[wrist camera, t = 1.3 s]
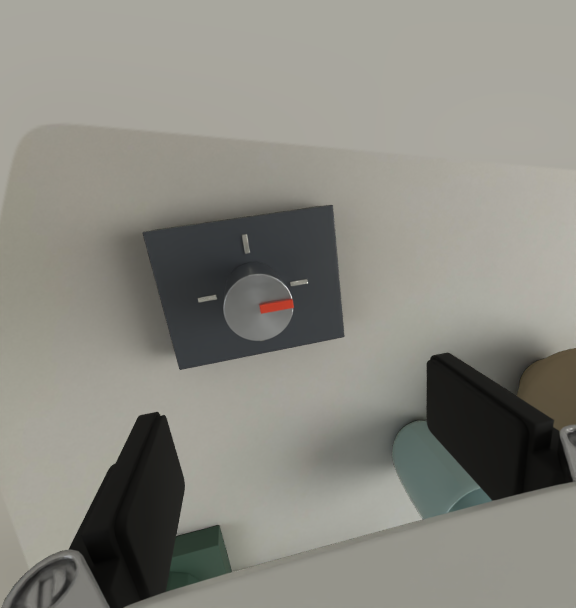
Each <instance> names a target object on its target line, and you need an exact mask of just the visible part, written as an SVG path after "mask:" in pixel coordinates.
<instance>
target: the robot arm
mask: <svg viewBox="0 0 576 608" xmlns="http://www.w3.org/2000/svg"><path fill="white" fill-rule="evenodd" d="M553 425H554V420H553V419H552V418H550V417H549V416H547V415H546V414H544V413H542V412H541V411H539V410H538V409H536V408H535V407H533V406H532V405H530V404H528V403H527V402H525V401H524V400H522V399H521V398H519V397H517V396H516V395H514V394H513V393H511V392H510V391H508V390H507V389H505V388H503V387H502V386H500V385H499V384H497V383H496V382H494V381H492V380H491V379H489V378H488V377H486V376H485V375H483V374H482V373H480V372H478V371H477V370H475V369H474V368H472V367H471V366H469V365H467V364H466V363H464V362H463V361H461V360H460V359H458V358H457V357H455V356H453V355H452V354H450V353H443V354H438V355H433V356H432V357H431V358H430V360H429V361H428V362H427V426H428V429H429V430H430V432H431V433H432V434H433V435H434V437H435V438H436V439H437V440H438V441H439V442H440V443H441V444H442V445H443V447H444V448H445V449H446V450H447V451H448V452H449V453H450V454H451V455H452V457H453V458H454V459H455V460H456V461H457V462H458V463H459V464H460V465H461V467H462V468H463V469H464V470H465V471H466V472H467V473H468V474H469V475H470V476H471V478H472V479H473V480H474V481H475V482H476V483H477V484H478V485H479V486H480V488H481V489H482V490H483V491H484V492H485V493H486V494H487V495H488V496H489V498H490V499H491V500H492V501H491V502H487V503H483V504H480V505H476V506H472V507H468V508H464V509H461V510H457V511H453V512H449V513H446V514H442V515H438V516H434V517H430V518H427V519H423V520H419V521H416V522H412V523H408V524H405V525H401V526H397V527H394V528H390V529H386V530H382V531H379V532H375V533H371V534H368V535H364V536H360V537H357V538H353V539H349V540H346V541H342V542H338V543H335V544H331V545H327V546H324V547H320V548H317V549H313V550H309V551H306V552H302V553H299V554H295V555H292V556H288V557H284V558H281V559H277V560H274V561H270V562H266V563H263V564H259V565H256V566H252V567H249V568H245V569H241V570H238V571H234V572H231V573H227V574H224V575H221V576H217V577H214V578H211V579H207V580H204V581H201V582H197V583H194V584H190V585H187V586H184V587H180V588H177V589H174V590H170V591H167V592H166V588H167V582H168V577H169V571H170V566H171V561H172V555H173V550H174V544H175V539H176V534H177V528H178V523H179V517H180V512H181V507H182V501H183V496H184V490H185V482H184V477H183V473H182V470H181V466H180V463H179V459H178V456H177V453H176V449H175V446H174V442H173V439H172V435H171V432H170V428H169V425H168V422H167V418H166V416H165V415H162V416H160V414H159V413H158V412H154V413H149V414H144V415H140V416H139V417H138V418H137V420H136V422H135V424H134V426H133V429H132V431H131V433H130V435H129V437H128V439H127V441H126V443H125V445H124V447H123V449H122V451H121V453H120V455H119V457H118V460H117V462H116V464H113V465H112V466H111V467H110V468H109V470H108V472H107V474H106V476H105V478H104V480H103V482H102V484H101V486H100V488H99V490H98V492H97V494H96V496H95V498H94V500H93V502H92V504H91V506H90V508H89V510H88V512H87V514H86V516H85V518H84V520H83V522H82V524H81V526H80V528H79V530H78V532H77V534H76V536H75V538H74V540H73V542H72V544H71V546H70V548H69V550H64V551H60V552H57V553H55V554H52V555H50V556H48V557H47V558H45V559H43V560H42V561H40V562H39V563H37V564H36V565H35V566H33V567H32V568H31V569H30V570H29V571H27V572H26V573H25V574H24V575H23V576H22V577H21V578H20V580H19V581H18V582H17V583H16V584H15V585H14V586H13V588H12V589H11V591H10V592H9V594H8V595H7V597H6V598H5V600H4V603H3V605H2V607H1V608H576V425H568V426H565V427H563V428H562V429H561V430H560V431H559V430H557V429H556V428H554V427H553Z"/></svg>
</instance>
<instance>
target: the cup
mask: <svg viewBox="0 0 576 608" xmlns="http://www.w3.org/2000/svg"><path fill="white" fill-rule="evenodd" d="M392 459H393V464H394V467H395V470H396V472H397V475H398V477H399V479H400V481H401V483H402V485H403V487H404V489H405V491H406V493H407V495H408V496H409V498H410V500H411V501H412V503H413V505H414V506H415V508H416V510H417V511H418V513H419V515H420V516H421V518H422V519H427V518H430V517H434V516H438V515H442V514H446V513H449V512H453V511H457V510H461V509H464V508H468V507H472V506H476V505H480V504H483V503H487V502H491V501H492V500H491V499H490V498H489V496H488V495H487V494H486V493H485V492H484V491H483V490H482V489H481V488H480V486H479V485H478V484H477V483H476V482H475V481H474V480H473V479H472V478H471V476H470V475H469V474H468V473H467V472H466V471H465V470H464V469H463V468H462V467H461V465H460V464H459V463H458V462H457V461H456V460H455V459H454V458H453V457H452V455H451V454H450V453H449V452H448V451H447V450H446V449H445V448H444V447H443V445H442V444H441V443H440V442H439V441H438V440H437V439H436V438H435V437H434V435H433V434H432V433H431V432H430V430H429V429H428V426H427V421H426V420H422V421H415V422H411V423H409V424H407V425H406V426H404V427H403V428H402V429H401V430H400V431H399V433H398V434H397V436H396V438H395V440H394V443H393V447H392Z"/></svg>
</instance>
